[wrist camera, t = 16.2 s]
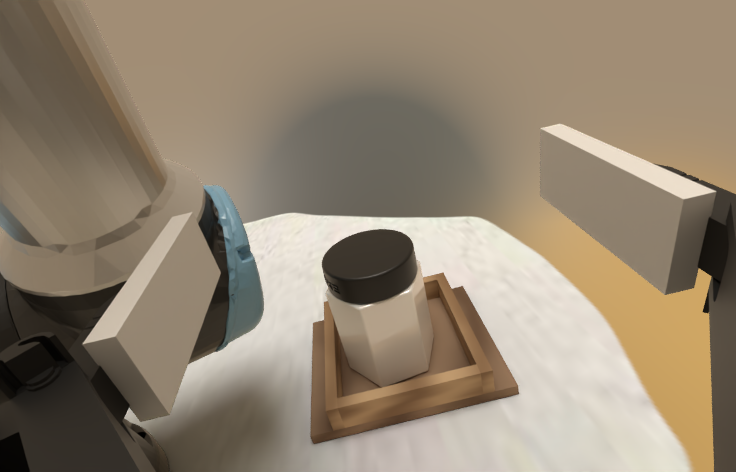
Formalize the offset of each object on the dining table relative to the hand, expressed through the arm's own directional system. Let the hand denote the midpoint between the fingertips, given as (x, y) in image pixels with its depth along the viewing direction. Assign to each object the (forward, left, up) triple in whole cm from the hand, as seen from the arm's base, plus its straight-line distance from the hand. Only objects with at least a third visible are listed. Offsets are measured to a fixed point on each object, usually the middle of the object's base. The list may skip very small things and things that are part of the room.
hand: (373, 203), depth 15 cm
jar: (-1, +17, -23) cm, 29 cm away
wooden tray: (0, +17, -24) cm, 30 cm away
